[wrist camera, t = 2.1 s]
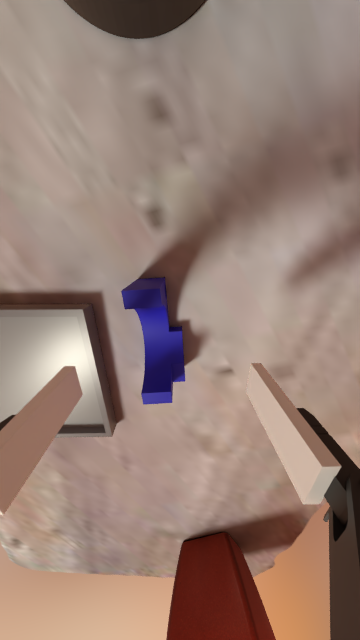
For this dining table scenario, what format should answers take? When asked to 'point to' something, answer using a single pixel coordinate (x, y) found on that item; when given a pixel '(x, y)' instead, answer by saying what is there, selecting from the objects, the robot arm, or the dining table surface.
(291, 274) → the dining table surface
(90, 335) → the tray
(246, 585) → the plant pot
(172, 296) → the dining table surface
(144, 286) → the cable clip
